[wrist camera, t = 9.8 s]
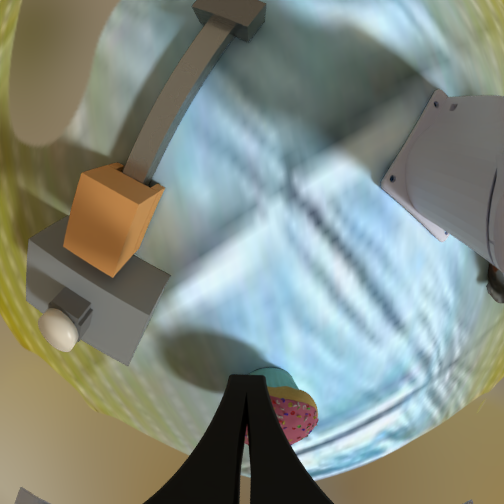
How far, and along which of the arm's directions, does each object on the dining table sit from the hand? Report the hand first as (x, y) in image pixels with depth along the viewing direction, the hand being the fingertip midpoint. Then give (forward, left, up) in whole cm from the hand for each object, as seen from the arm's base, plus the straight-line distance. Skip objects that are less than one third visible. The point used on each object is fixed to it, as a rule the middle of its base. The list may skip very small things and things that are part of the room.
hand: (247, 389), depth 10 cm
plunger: (+7, -10, -5) cm, 13 cm away
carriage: (0, -10, -10) cm, 14 cm away
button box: (+7, -10, -10) cm, 16 cm away
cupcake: (+10, +8, -11) cm, 17 cm away
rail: (-5, -10, -10) cm, 15 cm away
